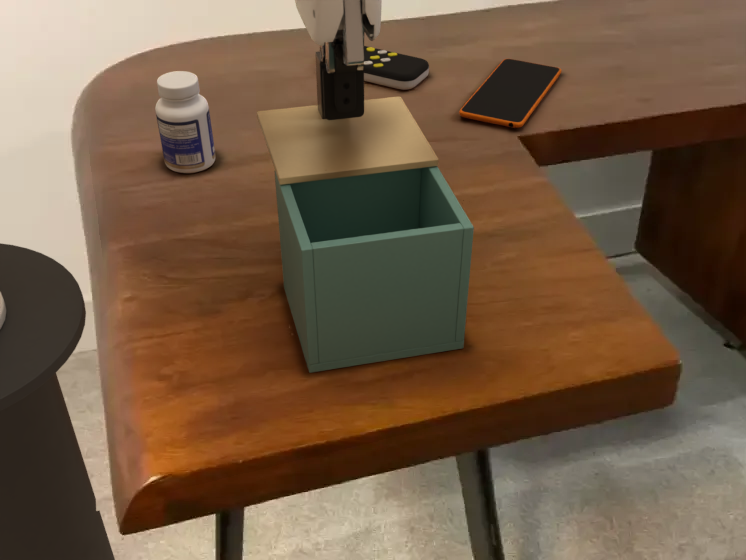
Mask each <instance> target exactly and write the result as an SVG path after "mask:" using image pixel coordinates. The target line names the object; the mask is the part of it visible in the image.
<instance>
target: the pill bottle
mask: <svg viewBox="0 0 746 560" xmlns="http://www.w3.org/2000/svg"><path fill="white" fill-rule="evenodd" d="M156 85H157V92H158V96H159V97H160V98H159V99H158V100H157V101H156V104H155V106H154V107H155V110H154V111H155V116H156V123H157V127H158V133H159V139H160V143H161V151H162V155H163V161H164V164H165V166H166V167H167V168H168V169H169V170H171V171H173V172H176V173H180V174H194V173H198V172H202V171H205V170H207V169H208V168H211V166H213V165H214V163H215V161H216V157H217V156H216V148H215V142H214V141H215V140H214V133H213V127H212V119H211V112H210V105H209V103H208V100H207V98H205V97H204V96H203V95H202V94H200V93H201V90H200V82H199V78H198V76H197V75H196V74H195V73H193V72H191V71H185V70H177V71H176V70H174V71H169V72H166V73H163V74H161V75H159V77H158V78H157V80H156Z"/></svg>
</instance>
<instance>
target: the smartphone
mask: <svg viewBox="0 0 746 560" xmlns="http://www.w3.org/2000/svg"><path fill="white" fill-rule="evenodd" d="M561 74H562V69H561V68H560V67H558V66H553V65H547V64H541V63H535V62H530V61H524V60H520V59H519V60H518V59H514V58H504V59H503V60H501V62H500V63H499V64H498V65H497V66H496V67H495V69H494V70H493V71H492V72H491V73H490V74H489V76H488V77H487V78H486V79H485V80H484V82H482V84H481V85H480V86H479V87H478V88H477V89H476V90H475V92H474V93H473V94H471V97H469V99H468V100H467V101H466V102H464V104H463V106H462V107H461V108H460V109H459V111H458V115H459V116H460V117H462V118H465V119H470V120H475V121H478V122H479V121H480V122H484V123H488V124H494V125H498V126H499V125H500V126H502V127H503V126H505V127H509V128H514V129H519V128H520V129H521V128H522V127H523V126H524V125H525V124H526V122H527V121H528V119H529V118H530V116H531V115H532V114H533V112H534V111H535V110H536V109H537V107H538V106H539V104H540V103H541V101H542V100H543V99H544V97H545V96H546V95H547V94H548V92H549V91H550V89H551V87H552V86H553V85H554V84H555V82H556V81H557V80H558V78H559V77H560V75H561Z"/></svg>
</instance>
